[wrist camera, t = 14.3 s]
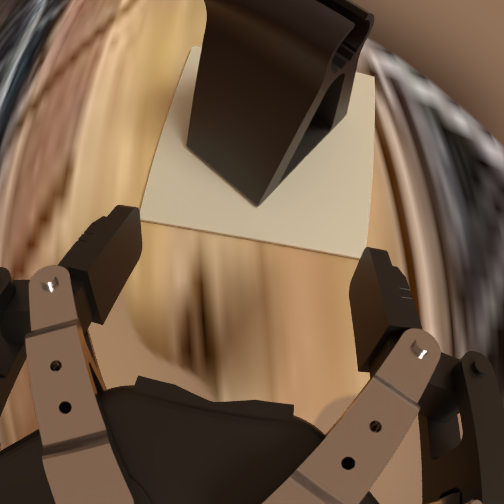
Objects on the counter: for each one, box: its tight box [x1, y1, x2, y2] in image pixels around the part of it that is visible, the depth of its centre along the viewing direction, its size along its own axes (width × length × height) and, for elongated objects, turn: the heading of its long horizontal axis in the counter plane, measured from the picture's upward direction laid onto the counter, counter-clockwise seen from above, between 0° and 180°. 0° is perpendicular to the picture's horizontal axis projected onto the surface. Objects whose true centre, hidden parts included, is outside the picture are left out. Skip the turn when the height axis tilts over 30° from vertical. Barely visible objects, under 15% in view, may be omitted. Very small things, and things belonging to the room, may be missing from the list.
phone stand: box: [186, 0, 374, 206], centre depth 14 cm, size 9×6×12 cm, turn 138°
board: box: [140, 46, 375, 260], centre depth 20 cm, size 14×14×1 cm
